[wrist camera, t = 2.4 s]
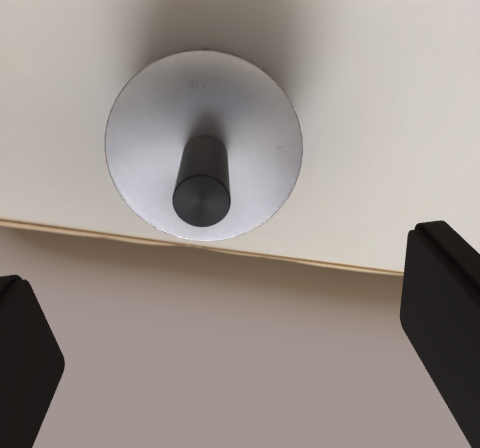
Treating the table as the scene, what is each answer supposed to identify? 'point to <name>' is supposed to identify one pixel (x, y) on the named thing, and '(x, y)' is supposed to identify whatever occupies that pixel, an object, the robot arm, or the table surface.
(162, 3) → the table surface
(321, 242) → the table surface
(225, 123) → the lid
